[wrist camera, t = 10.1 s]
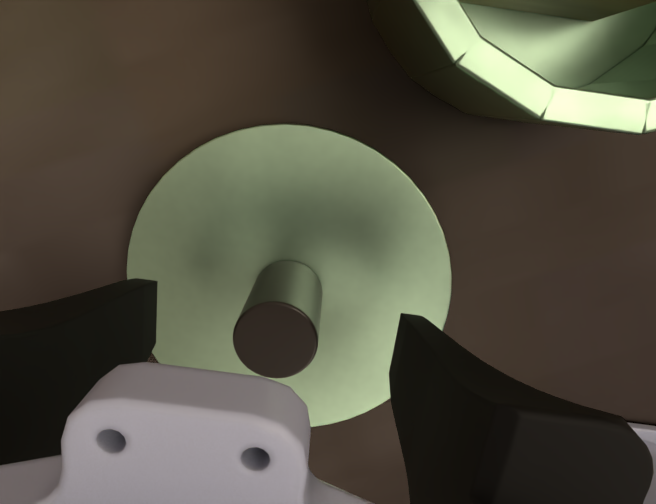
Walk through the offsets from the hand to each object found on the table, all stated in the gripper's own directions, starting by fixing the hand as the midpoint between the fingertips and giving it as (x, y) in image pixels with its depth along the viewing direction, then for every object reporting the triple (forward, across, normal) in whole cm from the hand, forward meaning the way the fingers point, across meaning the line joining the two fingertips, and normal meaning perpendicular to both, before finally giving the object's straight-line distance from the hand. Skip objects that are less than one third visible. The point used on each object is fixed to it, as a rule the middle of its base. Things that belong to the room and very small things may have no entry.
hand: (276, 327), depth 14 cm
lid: (+3, 0, 0) cm, 3 cm away
